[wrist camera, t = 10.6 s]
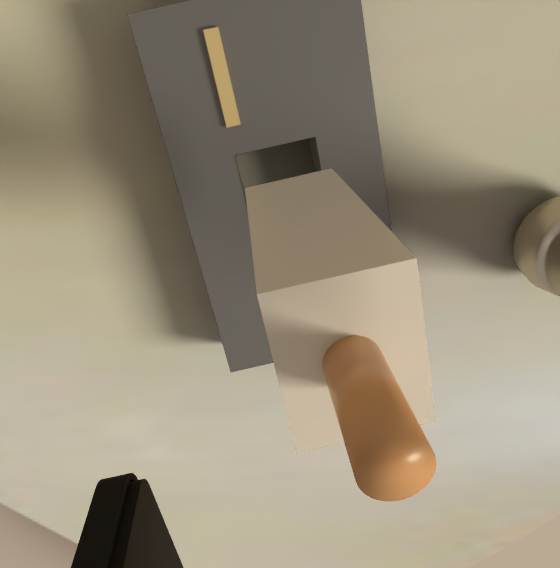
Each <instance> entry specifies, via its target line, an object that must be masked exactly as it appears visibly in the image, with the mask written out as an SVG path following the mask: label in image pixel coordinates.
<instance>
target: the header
mask: <svg viewBox="0 0 560 568" xmlns="http://www.w3.org/2000/svg"><path fill="white" fill-rule="evenodd" d="M127 15H128V19H129V22H130V26H131V29H132V33H133V36H134V40H135V43H136V47H137V50H138V53H139V57H140V60H141V64H142V67H143V71H144V74H145V78H146V81H147V85H148V88H149V91H150V95H151V98H152V102H153V105H154V109H155V112H156V116H157V119H158V123H159V126H160V129H161V133H162V136H163V140H164V143H165V147H166V150H167V154H168V157H169V161H170V164H171V167H172V171H173V174H174V178H175V181H176V185H177V188H178V192H179V195H180V199H181V202H182V205H183V209H184V212H185V216H186V219H187V223H188V226H189V230H190V233H191V237H192V240H193V243H194V247H195V250H196V254H197V257H198V261H199V264H200V268H201V271H202V275H203V278H204V281H205V285H206V288H207V292H208V295H209V299H210V302H211V306H212V309H213V313H214V316H215V319H216V323H217V326H218V330H219V333H220V337H221V340H222V344H223V347H224V351H225V354H226V357H227V361H228V364H229V368H230V371H231V372H234V371H239V370H243V369H247V368H252V367H256V366H261V365H265V364H269V363H274V362H273V358H272V354H271V350H270V346H269V342H268V338H267V334H266V330H265V325H264V321H263V317H262V313H261V309H260V305H259V301H258V297H257V292H256V283H255V274H254V265H253V256H252V247H251V238H250V229H249V220H248V211H247V202H246V196H245V192H244V188H243V184H242V180H241V176H240V171H239V167H238V163H237V159H236V155H238V154H242V153H246V152H251V151H255V150H260V149H264V148H268V147H273V146H277V145H281V144H286V143H290V142H295V141H299V140H303V139H308V140H309V145H310V151H311V156H312V162H313V167H314V172H317V171H322V170H326V169H331V168H332V169H333V170H334V171H335V172H336V173H337V174H338V175H339V176H340V177H341V179H342V180H343V181H344V182H345V183H346V184H347V185H348V186H349V187H350V188H351V189H352V190H353V191H354V192H355V193H356V194H357V195H358V196H359V198H360V199H361V200H362V201H363V202H364V203H365V204H366V205H367V206H368V207H369V208H370V209H371V210H372V211H373V212H374V213H375V214H376V215H377V217H378V218H379V219H380V220H381V221H382V222H383V223H384V224H385V225H386V226H387V227H388V228H389V229H390V230H391V224H390V216H389V209H388V201H387V194H386V186H385V179H384V171H383V164H382V156H381V149H380V141H379V133H378V126H377V118H376V111H375V103H374V96H373V88H372V81H371V73H370V66H369V58H368V51H367V43H366V36H365V28H364V20H363V13H362V5H361V0H188V1H183V2H179V3H175V4H170V5H166V6H161V7H157V8H153V9H148V10H144V11H140V12H135V13H131V14H127Z"/></svg>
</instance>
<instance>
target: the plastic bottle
mask: <svg viewBox="0 0 560 568" xmlns="http://www.w3.org/2000/svg"><path fill="white" fill-rule="evenodd" d="M514 257H515V261H516V263H517V265H518V267H519V269H520V270H521V271H522V272H523V274H524V275H525V276H526V277H527V279H528V280H529V281H530V282H531V283H532V284H534V285H535V286H537V287H539V288H541V289H543V290H545V291H548V292H550V293H552V294H554V295H557V296H560V196H558V197H554V198H551V199H549V200H546V201H545V202H543V203H541V204H540V205H538V206H537V207H536V208H534V209H533V210H532V211H531V212H530V213H529V214H528V215H527V216H526V217H525V218H524V220H523V221H522V223H521V224H520V226H519V228H518V231H517V233H516V237H515V241H514Z"/></svg>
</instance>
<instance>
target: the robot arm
mask: <svg viewBox="0 0 560 568" xmlns="http://www.w3.org/2000/svg"><path fill="white" fill-rule="evenodd" d="M71 568H183V566H182V563H181V561H180V558H179V556H178V553H177V551H176V549H175V546H174V544H173V541H172V539H171V536H170V534H169V532H168V529H167V527H166V524H165V522H164V519H163V517H162V515H161V512H160V510H159V507H158V505H157V502H156V500H155V498H154V495H153V493H152V490H151V488H150V485H149V483H148V481H147V480H146V479H141V480H138V479H137V477H136V476H135V475H134V474H133V473H129V474H125V475H120V476H116V477H111V478H106V479H102V480H100V481H99V482H98V484H97V486H96V489H95V492H94V495H93V498H92V502H91V505H90V508H89V511H88V515H87V518H86V521H85V524H84V527H83V531H82V534H81V537H80V540H79V543H78V547H77V550H76V553H75V556H74V560H73V563H72V566H71Z"/></svg>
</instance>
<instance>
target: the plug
mask: <svg viewBox="0 0 560 568" xmlns="http://www.w3.org/2000/svg"><path fill="white" fill-rule="evenodd" d="M245 193H246V202H247V211H248V220H249V229H250V238H251V247H252V256H253V265H254V274H255V283H256V292H257V297H258V301H259V305H260V309H261V313H262V317H263V321H264V325H265V330H266V334H267V338H268V342H269V346H270V350H271V354H272V358H273V362H274V366H275V370H276V374H277V378H278V382H279V386H280V390H281V394H282V398H283V402H284V406H285V410H286V414H287V418H288V422H289V426H290V430H291V434H292V438H293V442H294V446H295V450H296V453H300V452H305V451H309V450H313V449H318V448H322V447H327V446H331V445H335V444H340V443H345V446H346V449H347V453H348V456H349V459H350V463H351V466H352V470H353V473H354V476H355V480H356V483H357V485H358V487H359V488H360V490H361V491H362V492H363V493H365V494H366V495H367V496H369V497H371V498H374V499H376V500H380V501H398V500H402V499H406V498H408V497H411V496H413V495H415V494H416V493H418V492H420V491H421V490H422V489H423V488H424V487H425V486H426V485H427V484H428V483H429V482H430V480H431V479H432V477H433V475H434V473H435V469H436V458H435V454H434V452H433V450H432V448H431V446H430V444H429V442H428V440H427V438H426V437H425V435H424V433H423V431H422V429H421V427H420V425H424V424H428V423H433V422H436V419H435V411H434V402H433V393H432V385H431V376H430V367H429V359H428V350H427V341H426V333H425V324H424V315H423V307H422V298H421V289H420V281H419V272H418V264H417V258H416V257H415V256H414V255H413V253H412V252H411V251H410V250H409V249H408V248H407V247H406V246H405V245H404V244H403V243H402V242H401V241H400V240H399V239H398V238H397V237H396V236H395V234H394V233H393V232H392V231H391V230H390V229H389V228H388V227H387V226H386V225H385V224H384V223H383V222H382V221H381V220H380V219H379V218H378V217H377V215H376V214H375V213H374V212H373V211H372V210H371V209H370V208H369V207H368V206H367V205H366V204H365V203H364V202H363V201H362V200H361V199H360V198H359V196H358V195H357V194H356V193H355V192H354V191H353V190H352V189H351V188H350V187H349V186H348V185H347V184H346V183H345V182H344V181H343V180H342V179H341V177H340V176H339V175H338V174H337V173H336V172H335V171H334V170H333V169H332V168H331V169H326V170H322V171H317V172H313V173H309V174H304V175H300V176H296V177H291V178H287V179H282V180H278V181H274V182H269V183H265V184H260V185H256V186H252V187H247V188H245Z"/></svg>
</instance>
